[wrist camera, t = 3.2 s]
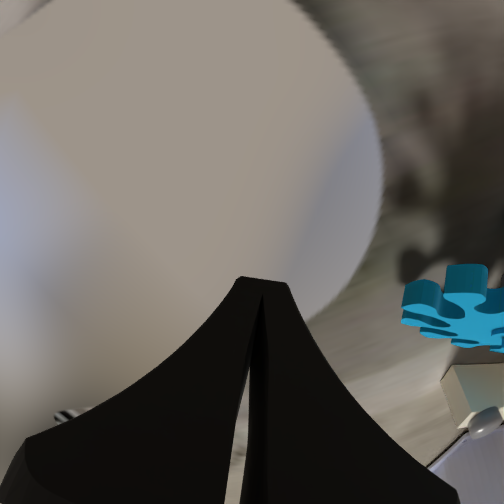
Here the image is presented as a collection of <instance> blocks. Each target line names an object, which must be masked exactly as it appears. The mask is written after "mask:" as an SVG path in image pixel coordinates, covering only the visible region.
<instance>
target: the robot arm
mask: <svg viewBox="0 0 504 504" xmlns="http://www.w3.org/2000/svg"><path fill="white" fill-rule="evenodd" d="M249 367H250V380H249V423H248V444H247V453H246V460H245V468H244V475H243V483H242V490H241V497H240V504H504V425H500V426H499V427H498V428H496V429H495V430H494V431H493V432H491V433H490V434H488V435H486V436H484V437H482V438H479V439H472V438H471V436H470V433H469V432H467V433H466V434H464V435H463V436H462V437H461V438H460V439H459V440H458V441H457V442H456V443H455V444H454V445H453V446H452V447H451V448H449V449H448V450H447V451H446V452H445V453H444V454H443V455H442V456H441V457H440V458H438V459H437V460H436V461H435V462H434V463H433V464H431V465H430V466H429V467H428V468H426V467H424V466H423V465H422V464H420V463H419V462H418V461H417V460H415V459H414V458H413V457H412V456H411V455H410V454H408V453H407V452H406V451H405V450H404V449H403V448H402V447H400V446H399V445H398V444H397V443H396V442H395V441H394V440H393V439H392V438H391V437H390V436H389V435H388V434H387V433H386V432H385V431H384V430H383V429H382V428H381V427H380V426H379V425H378V424H377V423H376V422H375V421H374V420H373V419H372V418H371V417H370V416H369V415H368V414H367V413H366V411H365V410H364V409H363V408H362V407H361V406H360V405H359V403H358V402H357V401H356V400H355V399H354V397H353V396H352V395H351V394H350V392H349V391H348V390H347V388H346V387H345V386H344V385H343V383H342V382H341V381H340V379H339V378H338V376H337V375H336V374H335V372H334V371H333V369H332V368H331V366H330V365H329V363H328V362H327V360H326V359H325V357H324V355H323V354H322V352H321V351H320V349H319V347H318V346H317V344H316V342H315V340H314V339H313V337H312V335H311V333H310V331H309V329H308V328H307V326H306V324H305V322H304V320H303V318H302V316H301V314H300V312H299V310H298V308H297V305H296V303H295V301H294V299H293V296H292V294H291V291H290V288H289V286H288V285H287V283H285V282H278V281H271V280H264V279H257V278H250V277H244V276H240V277H239V278H238V279H236V281H235V283H234V285H233V287H232V288H231V290H230V291H229V293H228V294H227V295H226V297H225V298H224V299H223V301H222V302H221V303H220V305H219V306H218V307H217V308H216V309H215V311H214V312H213V313H212V314H211V316H210V317H209V318H208V319H207V320H206V322H204V323H203V325H201V327H200V328H199V329H198V330H197V331H196V332H195V333H194V334H193V335H192V336H191V337H190V338H189V339H188V340H187V341H186V342H185V343H184V344H183V345H182V346H181V347H179V348H178V349H177V350H176V351H175V352H174V353H173V354H172V355H170V356H169V357H168V358H167V359H166V360H164V361H163V362H162V363H161V364H160V365H159V366H157V367H156V368H154V369H153V370H152V371H150V372H149V373H148V374H146V375H145V376H144V377H142V378H141V379H139V380H138V381H137V382H135V383H134V384H132V385H131V386H129V387H128V388H126V389H125V390H123V391H122V392H120V393H119V394H117V395H115V396H113V397H112V398H110V399H108V400H106V401H105V402H103V403H101V404H99V405H98V406H96V407H94V408H92V409H91V410H89V411H87V412H85V413H83V414H81V415H79V416H77V417H75V418H73V419H71V420H69V421H66V422H64V423H62V424H59V425H57V426H55V427H52V428H50V429H48V430H45V431H43V432H41V433H38V434H36V435H33V436H30V437H28V438H26V439H25V441H24V443H23V444H22V446H21V447H20V448H19V450H18V451H17V453H16V454H15V456H14V458H13V460H12V462H11V464H10V466H9V468H8V470H7V473H6V475H5V477H4V479H3V481H2V483H1V485H0V503H2V504H224V502H225V495H226V488H227V480H228V473H229V466H230V459H231V452H232V445H233V438H234V431H235V424H236V419H237V415H238V412H239V408H240V404H241V400H242V396H243V392H244V388H245V384H246V379H247V375H248V371H249Z"/></svg>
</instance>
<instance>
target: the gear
mask: <svg viewBox="0 0 504 504" xmlns="http://www.w3.org/2000/svg"><path fill="white" fill-rule="evenodd" d="M487 280H488V269H487V267H486V266H484V265H483V264H457V265H448V266H447V270H446V278H445V286H444V293H442V292H441V289H440V286H439V285H438V284H437V283H435V282H433V281H430V280H426V279H422V280H417V281H413V282H410V283H408V284H406V285H405V290H404V296H403V301H402V306H401V308H403V309H404V310H403V315H402V320H401V323H402V324H406V325H410V326H419V327H421V328H420V333H421V334H422V335H423V336H425V337H429V338H452V340H451V344H453V345H456V346H460V347H464V348H472V347H475V346H481V345H490V350H489V351H493V352H499V353H504V274H503V275H502V277H501V288H497V289H489V288H487Z"/></svg>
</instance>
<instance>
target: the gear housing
mask: <svg viewBox="0 0 504 504" xmlns="http://www.w3.org/2000/svg"><path fill="white" fill-rule="evenodd" d="M440 383H441V386H442V388H443V391H444V394H445V396H446V399H447V402H448V405H449V407H450V410H451V413H452V416H453V419H454V422H455V425H456V428H463V427H468V430H469V433H470V436H471V438H472V439H479V438H482V437H484V436H486V435H488V434H490V433H491V432H493V431H494V430H495V429H496V428H498V427H499V426H500V424H501V423H502V421H503V420H504V363H498V364H473V365H452V366H451V367H450V369H449V370H448V372H447V373H446V375H445V376H444V377H443V379H442V380H441V382H440Z"/></svg>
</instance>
